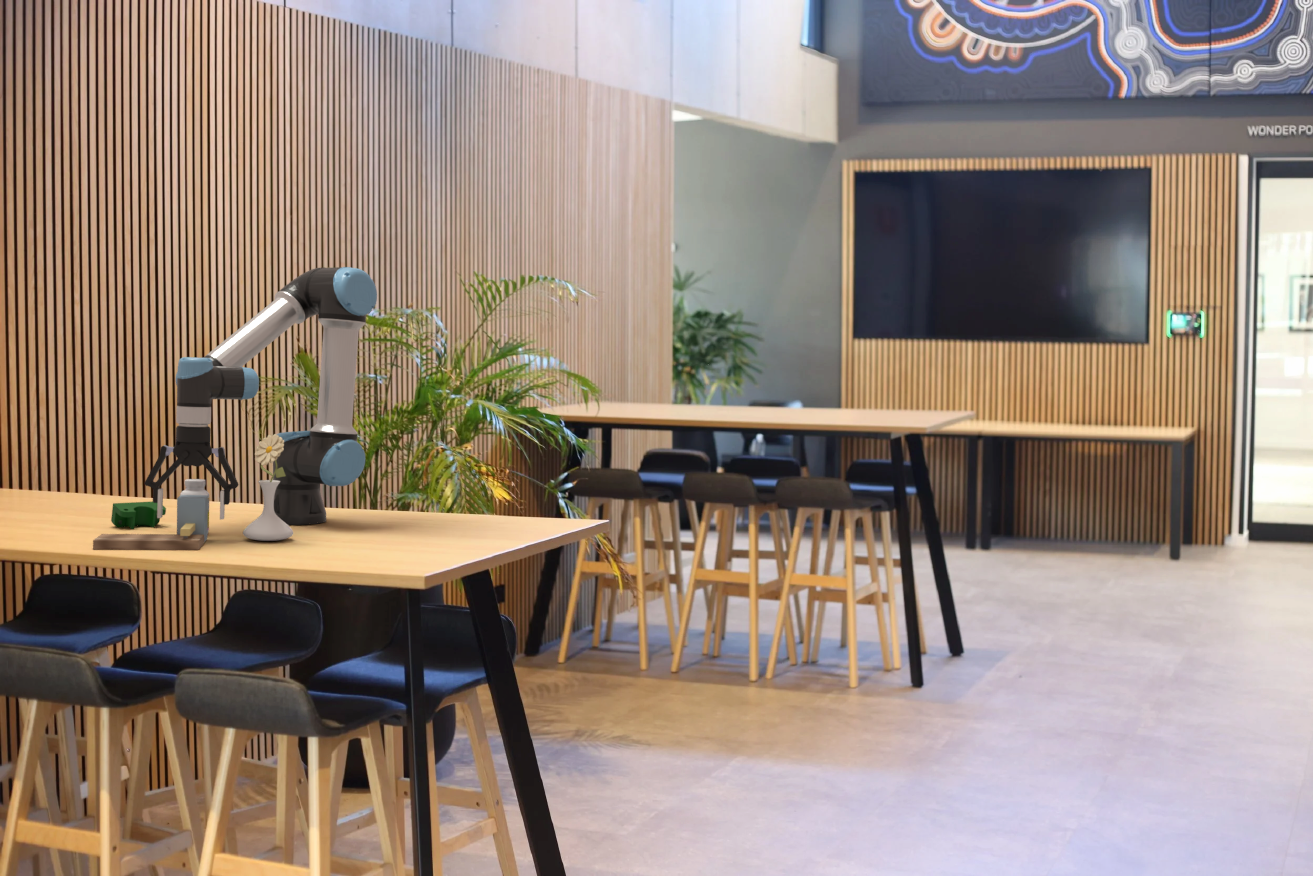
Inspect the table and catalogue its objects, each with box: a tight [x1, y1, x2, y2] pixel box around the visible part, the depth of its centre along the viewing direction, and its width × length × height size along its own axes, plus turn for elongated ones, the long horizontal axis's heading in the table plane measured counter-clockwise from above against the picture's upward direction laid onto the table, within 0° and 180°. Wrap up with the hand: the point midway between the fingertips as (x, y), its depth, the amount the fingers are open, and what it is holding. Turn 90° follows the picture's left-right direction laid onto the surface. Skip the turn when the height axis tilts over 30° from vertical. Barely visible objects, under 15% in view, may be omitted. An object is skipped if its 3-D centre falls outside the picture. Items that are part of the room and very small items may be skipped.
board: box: [92, 533, 205, 551], centre depth 320 cm, size 22×10×2 cm, turn 101°
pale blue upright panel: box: [176, 494, 209, 543], centre depth 325 cm, size 6×16×10 cm, turn 11°
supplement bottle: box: [179, 478, 210, 533], centre depth 341 cm, size 7×7×13 cm
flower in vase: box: [242, 433, 294, 542], centre depth 334 cm, size 13×11×25 cm
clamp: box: [110, 500, 167, 530], centre depth 350 cm, size 12×6×9 cm, turn 124°
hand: (191, 518), depth 329 cm, fingers open, 13 cm apart
